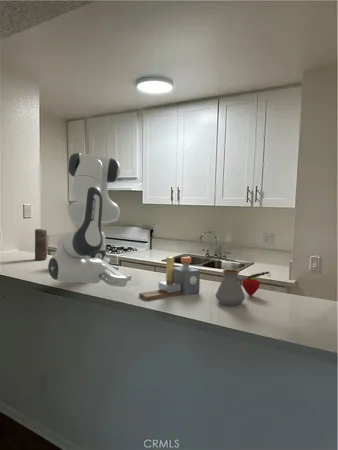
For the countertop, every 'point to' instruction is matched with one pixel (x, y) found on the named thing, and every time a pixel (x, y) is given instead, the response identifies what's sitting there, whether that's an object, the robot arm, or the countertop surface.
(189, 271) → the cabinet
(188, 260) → the button
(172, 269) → the carriage
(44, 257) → the candle
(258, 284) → the strawberry
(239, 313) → the countertop surface
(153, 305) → the countertop surface
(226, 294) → the coffee pot
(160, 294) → the rail
